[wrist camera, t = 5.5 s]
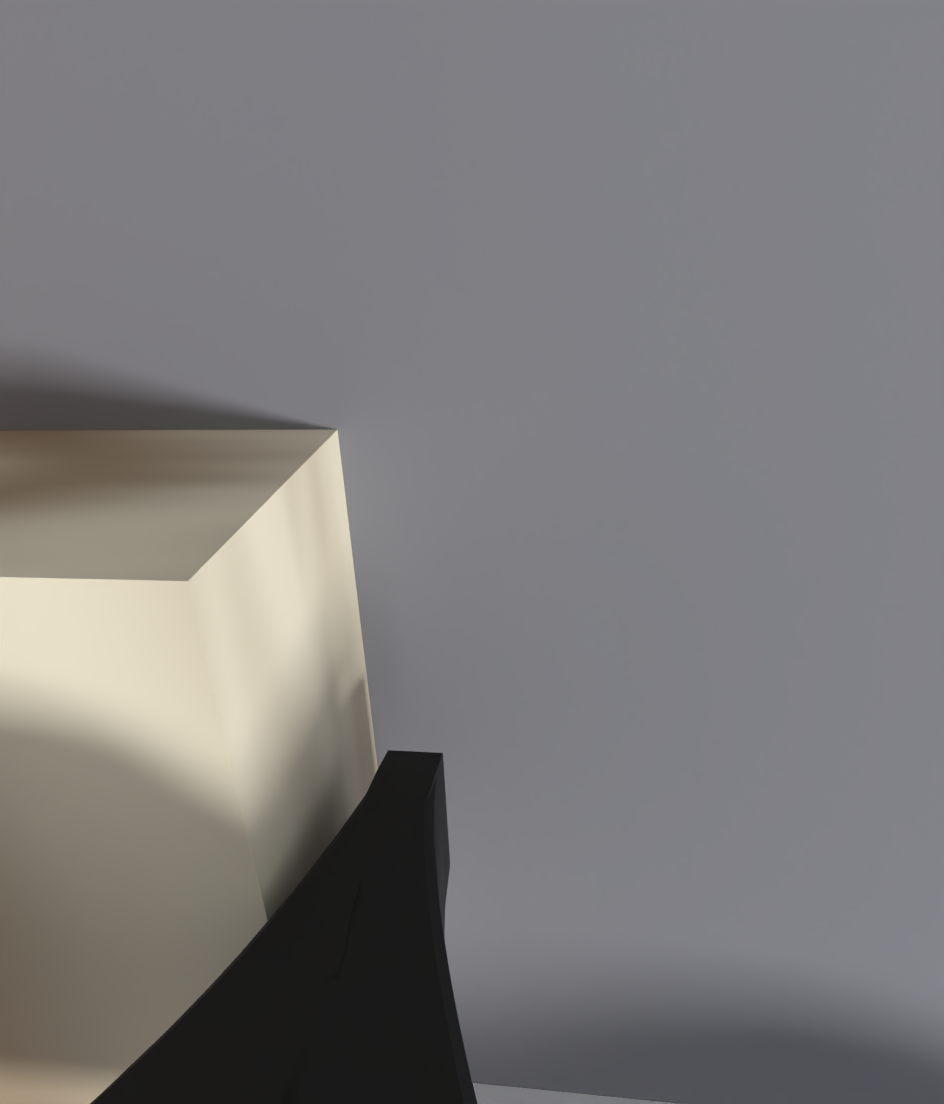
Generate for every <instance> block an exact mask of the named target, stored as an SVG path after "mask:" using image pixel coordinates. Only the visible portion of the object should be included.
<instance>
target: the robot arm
mask: <svg viewBox="0 0 944 1104" xmlns="http://www.w3.org/2000/svg"><path fill="white" fill-rule="evenodd" d="M449 870H450V854H449V838H448V823H447V808H446V793H445V777H444V762H443V753H434V752H414V751H395V750H388V751H387V753H386V755H385V757H384V759H383V760H382V762H381V764H380V766H379V768H378V770H377V772H376V774H375V776H374V778H373V780H372V782H371V784H370V786H369V789H368V791H367V793H366V794H365V796H364V797H363V799H362V800H361V802H360V803H359V805H358V806H357V807H356V809H355V810H354V812H353V813H352V814H351V816H350V817H349V819H348V820H347V821H346V823H345V824H344V826H343V827H342V828H341V830H340V831H339V832H338V834H337V835H336V836H335V838H334V839H333V840H332V842H331V843H330V844H329V846H328V847H327V848H326V849H325V851H324V852H323V853H322V855H321V856H320V857H319V859H318V860H317V861H316V862H315V864H314V865H313V866H312V868H311V869H310V870H309V872H308V873H307V874H306V876H305V877H304V878H303V879H302V881H301V882H300V883H299V884H298V886H297V887H296V888H295V889H294V891H293V892H292V893H291V894H290V895H289V897H288V898H287V899H286V900H285V901H284V902H283V904H282V905H281V906H280V907H279V908H278V910H277V911H276V912H275V913H274V914H273V915H272V917H271V918H270V919H269V920H268V921H267V922H266V924H265V925H264V926H263V927H262V928H261V930H260V931H259V932H258V933H257V934H256V935H255V937H254V938H253V939H252V940H251V941H250V943H249V944H248V945H247V946H246V947H245V948H244V949H243V951H242V952H241V953H240V954H239V955H238V956H237V957H236V958H235V959H234V961H233V962H232V963H231V964H230V965H229V966H228V967H227V968H226V969H225V970H224V971H223V973H222V974H221V975H220V976H219V977H218V978H217V979H216V980H215V981H214V982H213V983H212V984H211V985H210V987H209V988H208V989H207V990H206V991H205V992H204V993H203V994H202V995H201V996H200V997H199V998H198V999H197V1000H196V1001H195V1002H194V1003H193V1004H192V1005H191V1006H190V1007H189V1008H188V1009H187V1010H186V1011H185V1012H184V1013H183V1015H182V1016H181V1017H180V1018H179V1019H178V1020H177V1021H176V1022H175V1023H174V1024H173V1025H172V1026H171V1027H170V1028H169V1029H168V1030H167V1031H166V1032H165V1033H164V1034H163V1035H162V1036H161V1037H160V1038H159V1039H158V1040H157V1041H156V1042H155V1043H154V1044H152V1045H151V1046H150V1047H149V1048H148V1049H147V1050H146V1051H145V1052H144V1053H143V1054H142V1055H141V1056H140V1057H139V1058H138V1059H137V1060H136V1061H135V1062H134V1063H133V1064H132V1065H130V1066H129V1067H128V1068H127V1069H126V1070H125V1071H124V1072H123V1073H122V1074H121V1075H120V1076H119V1077H118V1078H117V1079H116V1080H115V1081H114V1082H113V1083H112V1084H111V1085H110V1086H109V1087H107V1088H106V1089H105V1090H104V1091H103V1092H102V1093H101V1094H100V1095H99V1096H98V1097H97V1098H96V1099H95V1100H94V1101H92V1102H91V1103H90V1104H477V1101H476V1096H475V1092H474V1088H473V1084H472V1079H471V1075H470V1071H469V1066H468V1062H467V1057H466V1052H465V1048H464V1043H463V1038H462V1034H461V1029H460V1024H459V1020H458V1014H457V1009H456V1004H455V999H454V994H453V988H452V983H451V977H450V971H449V965H448V959H447V953H446V946H445V904H446V895H447V887H448V879H449Z"/></svg>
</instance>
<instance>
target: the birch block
mask: <svg viewBox="0 0 944 1104" xmlns="http://www.w3.org/2000/svg"><path fill="white" fill-rule="evenodd" d="M377 770H378V766H377V758H376V749H375V741H374V733H373V724H372V716H371V707H370V699H369V691H368V682H367V674H366V665H365V657H364V648H363V640H362V632H361V623H360V615H359V606H358V598H357V589H356V581H355V573H354V564H353V556H352V547H351V539H350V531H349V522H348V514H347V505H346V497H345V488H344V480H343V472H342V463H341V455H340V446H339V438H338V430H20V431H0V1104H90V1103H91V1102H92V1101H94V1100H95V1099H96V1098H97V1097H98V1096H99V1095H100V1094H101V1093H102V1092H103V1091H104V1090H105V1089H106V1088H107V1087H109V1086H110V1085H111V1084H112V1083H113V1082H114V1081H115V1080H116V1079H117V1078H118V1077H119V1076H120V1075H121V1074H122V1073H123V1072H124V1071H125V1070H126V1069H127V1068H128V1067H129V1066H130V1065H132V1064H133V1063H134V1062H135V1061H136V1060H137V1059H138V1058H139V1057H140V1056H141V1055H142V1054H143V1053H144V1052H145V1051H146V1050H147V1049H148V1048H149V1047H150V1046H151V1045H152V1044H154V1043H155V1042H156V1041H157V1040H158V1039H159V1038H160V1037H161V1036H162V1035H163V1034H164V1033H165V1032H166V1031H167V1030H168V1029H169V1028H170V1027H171V1026H172V1025H173V1024H174V1023H175V1022H176V1021H177V1020H178V1019H179V1018H180V1017H181V1016H182V1015H183V1013H184V1012H185V1011H186V1010H187V1009H188V1008H189V1007H190V1006H191V1005H192V1004H193V1003H194V1002H195V1001H196V1000H197V999H198V998H199V997H200V996H201V995H202V994H203V993H204V992H205V991H206V990H207V989H208V988H209V987H210V985H211V984H212V983H213V982H214V981H215V980H216V979H217V978H218V977H219V976H220V975H221V974H222V973H223V971H224V970H225V969H226V968H227V967H228V966H229V965H230V964H231V963H232V962H233V961H234V959H235V958H236V957H237V956H238V955H239V954H240V953H241V952H242V951H243V949H244V948H245V947H246V946H247V945H248V944H249V943H250V941H251V940H252V939H253V938H254V937H255V935H256V934H257V933H258V932H259V931H260V930H261V928H262V927H263V926H264V925H265V924H266V922H267V921H268V920H269V919H270V918H271V917H272V915H273V914H274V913H275V912H276V911H277V910H278V908H279V907H280V906H281V905H282V904H283V902H284V901H285V900H286V899H287V898H288V897H289V895H290V894H291V893H292V892H293V891H294V889H295V888H296V887H297V886H298V884H299V883H300V882H301V881H302V879H303V878H304V877H305V876H306V874H307V873H308V872H309V870H310V869H311V868H312V866H313V865H314V864H315V862H316V861H317V860H318V859H319V857H320V856H321V855H322V853H323V852H324V851H325V849H326V848H327V847H328V846H329V844H330V843H331V842H332V840H333V839H334V838H335V836H336V835H337V834H338V832H339V831H340V830H341V828H342V827H343V826H344V824H345V823H346V821H347V820H348V819H349V817H350V816H351V814H352V813H353V812H354V810H355V809H356V807H357V806H358V805H359V803H360V802H361V800H362V799H363V797H364V796H365V794H366V793H367V791H368V789H369V786H370V784H371V782H372V780H373V778H374V776H375V774H376V772H377Z"/></svg>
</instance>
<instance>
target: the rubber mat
mask: <svg viewBox="0 0 944 1104" xmlns="http://www.w3.org/2000/svg"><path fill="white" fill-rule="evenodd" d="M20 430H338V438H339V446H340V455H341V463H342V472H343V480H344V488H345V497H346V505H347V514H348V522H349V531H350V539H351V547H352V556H353V564H354V573H355V581H356V589H357V598H358V606H359V615H360V623H361V632H362V640H363V648H364V657H365V665H366V674H367V682H368V691H369V699H370V707H371V716H372V724H373V733H374V741H375V749H376V758H377V766H378V768H379V766H380V764H381V762H382V760H383V759H384V757H385V755H386V753H387V751H388V750H395V751H414V752H434V753H443V762H444V777H445V793H446V808H447V823H448V838H449V854H450V870H449V879H448V887H447V895H446V904H445V946H446V953H447V959H448V965H449V971H450V977H451V983H452V988H453V994H454V999H455V1004H456V1009H457V1014H458V1020H459V1024H460V1029H461V1034H462V1038H463V1043H464V1048H465V1052H466V1057H467V1062H468V1066H469V1071H470V1075H471V1079H472V1083H482V1084H492V1085H502V1086H512V1087H522V1088H532V1089H542V1090H552V1091H562V1092H571V1093H581V1094H591V1095H601V1096H611V1097H621V1098H631V1099H641V1100H651V1101H661V1102H671V1103H681V1104H944V0H0V431H20Z"/></svg>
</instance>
